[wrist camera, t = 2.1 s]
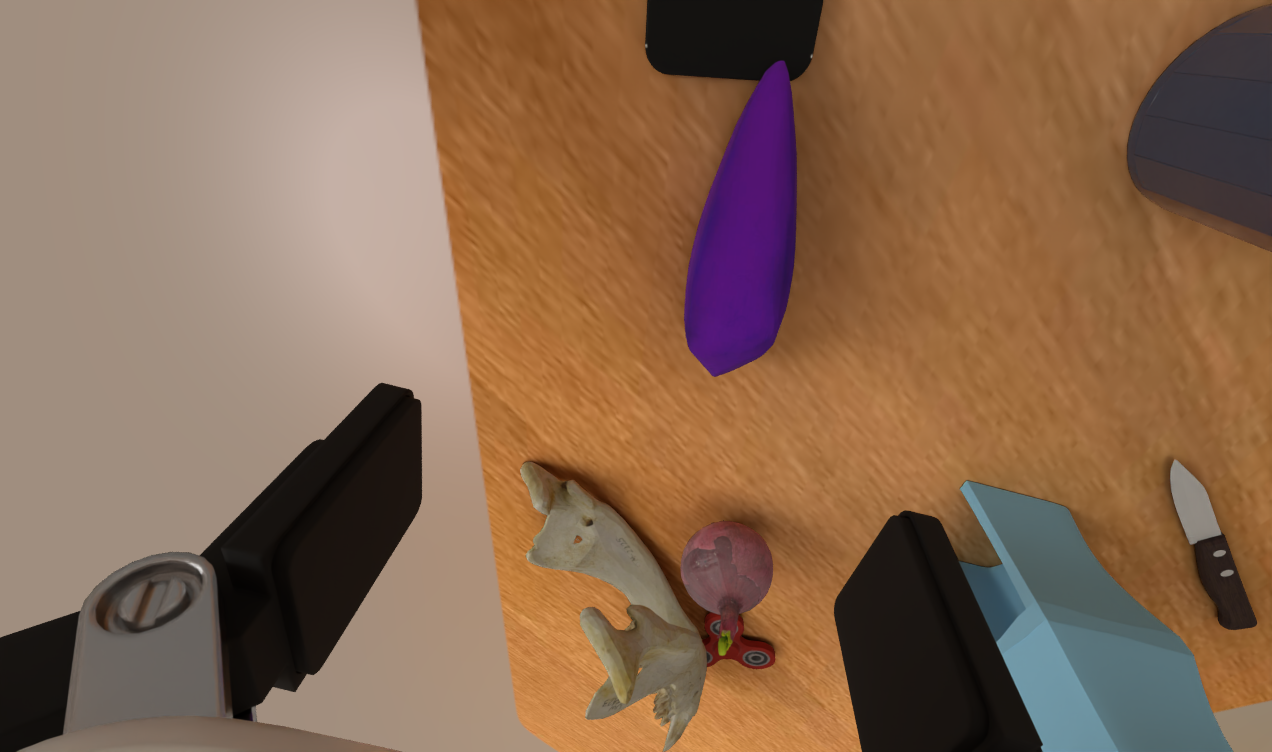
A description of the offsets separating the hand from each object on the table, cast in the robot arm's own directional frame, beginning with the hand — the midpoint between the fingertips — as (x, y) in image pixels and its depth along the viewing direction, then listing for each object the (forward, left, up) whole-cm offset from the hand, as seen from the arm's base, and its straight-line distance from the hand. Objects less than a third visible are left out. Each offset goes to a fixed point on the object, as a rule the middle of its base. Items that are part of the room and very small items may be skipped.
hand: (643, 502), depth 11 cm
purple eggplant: (+3, 0, -21) cm, 21 cm away
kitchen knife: (+38, -14, -20) cm, 45 cm away
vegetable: (+9, -21, -21) cm, 31 cm away
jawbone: (+8, -27, -18) cm, 33 cm away
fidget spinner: (+13, -35, -19) cm, 42 cm away
